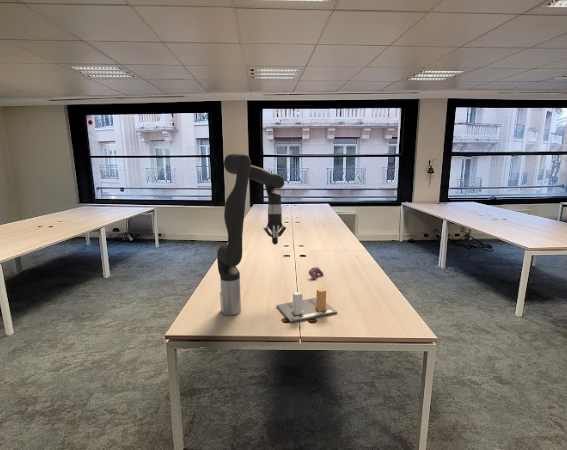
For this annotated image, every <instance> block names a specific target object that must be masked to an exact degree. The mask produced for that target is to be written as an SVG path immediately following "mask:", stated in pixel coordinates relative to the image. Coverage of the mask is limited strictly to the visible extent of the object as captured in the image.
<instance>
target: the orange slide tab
mask: <svg viewBox="0 0 567 450" xmlns="http://www.w3.org/2000/svg"><path fill="white" fill-rule="evenodd" d="M316 298H317V299H316V306H315V308H316V309H317V310H318V311H319V312H320V311H325V310H327V308H326V303H327V290H326V289H325V288H318V289H316Z"/></svg>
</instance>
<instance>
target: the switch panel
mask: <svg viewBox="0 0 567 450" xmlns="http://www.w3.org/2000/svg"><path fill="white" fill-rule="evenodd" d="M316 299H317V297H313V298H312V297H311V298H307V299H302V311H303V314H300V315H295V314H294V313H293V312H292V309H293V301H292V302H286V303H280V304H276V308H277V309H278V310H279V311H280V313H281V314H282V315H283V317H284V318H286V319H287V321H288V322H289V323H290V324H294V323H298V322H304V321H308V320H313V319H317V318H322V317H327V316H332V315H337V314H338V311H337V310H336V309H335V308H333V307H332V306H331V305H330V304H328V303H327V302H326V308H327V310H325V311H320V312H319V311H318V310H317V309H316V308H315V306H316Z"/></svg>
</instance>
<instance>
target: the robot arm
mask: <svg viewBox="0 0 567 450" xmlns="http://www.w3.org/2000/svg"><path fill="white" fill-rule="evenodd" d="M223 167H224V169H225V171H226V172H228V173H229V174H232V175H236V177H235V184H234V187H233V188H232V190H231V191H230V194H229V195H227V196H228V197H227V198H226V200H225V202H224V203H225V204H224V212H223V217H224V218H223V219H224V223H225V228H226V230H227V243H223V244H222V245H220V247H218V250H217V251H216V252H217V253H216V255H217V256H216V258H217V259H216V260H217V271H218V274H219V278H220V279H219V281H220V292H219V297H220V311H221V313H222V316H236V315H238V314H240V313H241V312H242V301H241V300H242V299H241V297H242V296H241V275H240V271H239V269H238V265H239V264H240V263H241V261H242V259H243V235H244V234H243V232H244V221H245V213H246V212H245V211H246V200H247V191H248V185H249V180H250V179H251V180H253V181H255V182H257V183H258V184H261V185H264V188H265V190H266V195H267V224H266V226H265V227H263V230H264V231H265V233H266V234H267V236H269V237H271V243H272V244H273V245H278V243H279V237H282V235H283V234H284V232H285V231H286V229H287V227H286V226H285V225H283V223H282V222H283V221H282V220H283V217H282V215H283V214H282V212H283V211H282V208H283V207H282V196H281V195H282V194H281V193H278V192H276V191H275V190H277V189H282V188H283V187H284V185H285V179H284V178H283V177H284V176H281V174H277V173H274V172H270V171H268V170H266V169H264V168H262V167H258V166H257V165H252V161H251V157H250V156H249V155H248V154H245V153H230V154H227V155H226V156H225V158H224V160H223Z"/></svg>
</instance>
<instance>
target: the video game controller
mask: <svg viewBox="0 0 567 450" xmlns="http://www.w3.org/2000/svg"><path fill="white" fill-rule="evenodd" d="M308 274H309V276H310V277H311V278H312V279H313V280H315V281H316V280H317V276H319V275H320V276H322V277H323V276H324V272H323V271H322V270H321V269H320V267H318V266H315V267H314V266H313V267H311V268H310V269H309V271H308Z"/></svg>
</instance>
